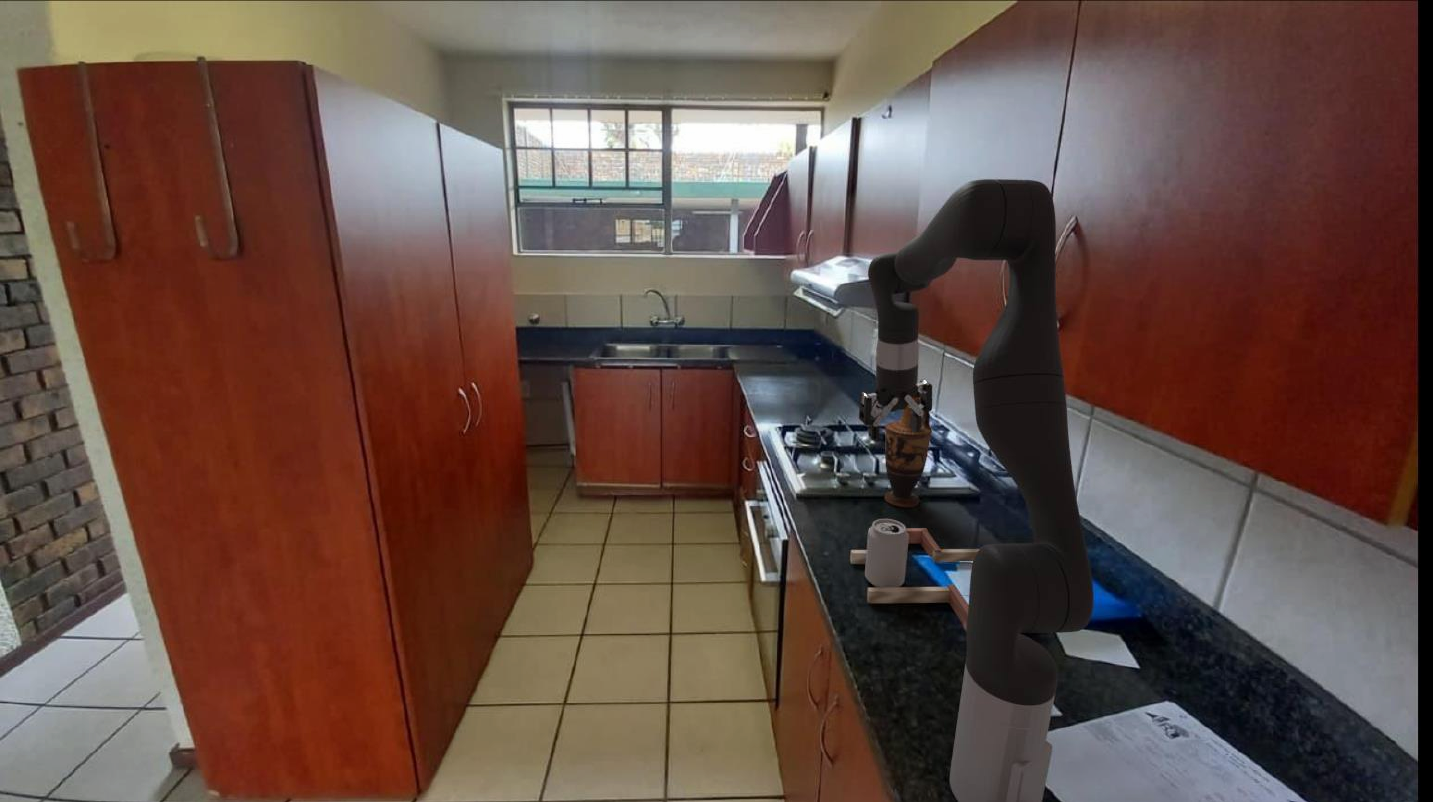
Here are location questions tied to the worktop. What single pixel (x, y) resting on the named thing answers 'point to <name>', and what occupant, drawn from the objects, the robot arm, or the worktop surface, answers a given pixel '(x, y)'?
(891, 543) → the can
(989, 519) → the worktop surface
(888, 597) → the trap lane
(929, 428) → the vase
